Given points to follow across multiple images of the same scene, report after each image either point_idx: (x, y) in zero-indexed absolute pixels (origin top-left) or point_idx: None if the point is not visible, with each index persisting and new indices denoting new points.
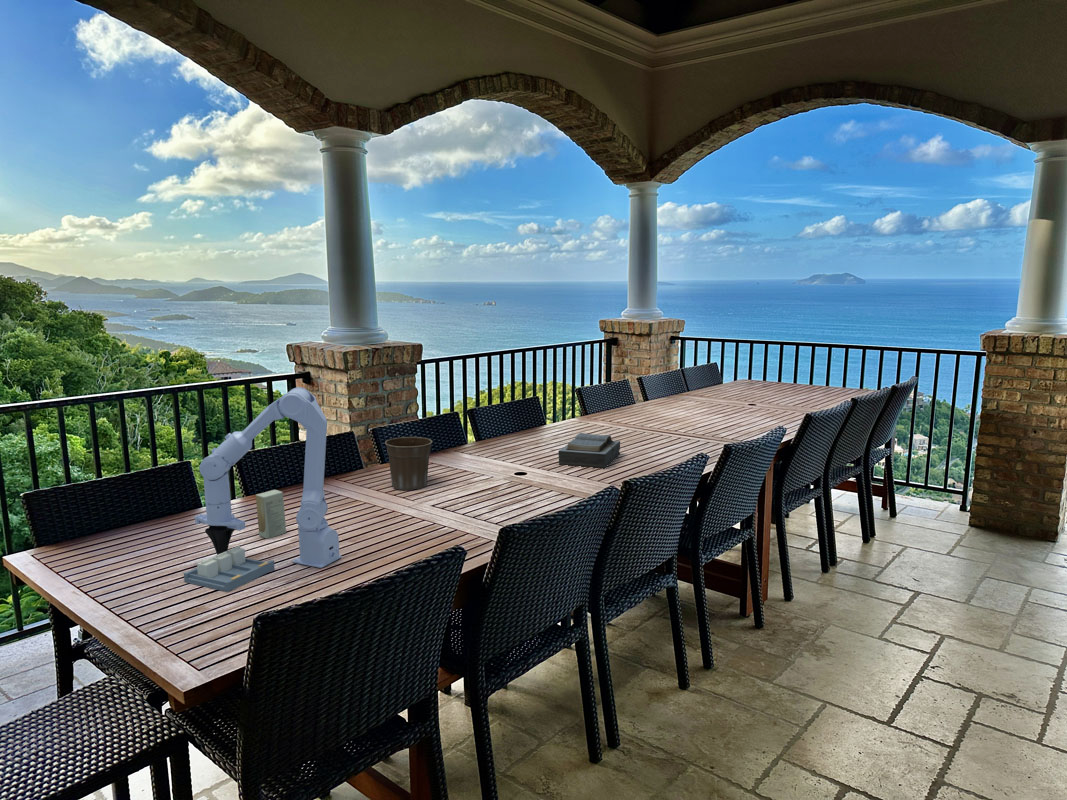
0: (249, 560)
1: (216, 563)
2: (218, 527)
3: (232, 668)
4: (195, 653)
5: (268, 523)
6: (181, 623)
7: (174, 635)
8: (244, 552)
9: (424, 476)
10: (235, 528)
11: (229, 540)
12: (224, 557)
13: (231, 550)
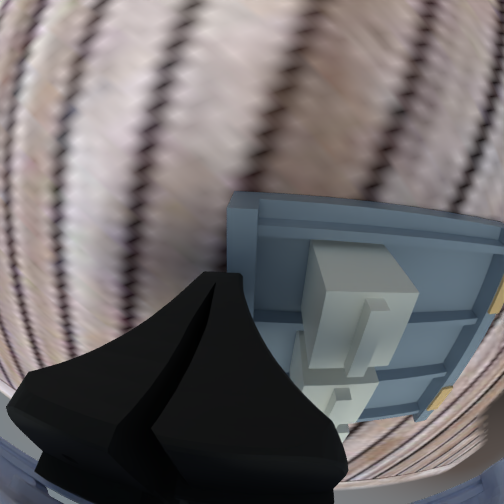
0: (410, 243)
1: (346, 425)
2: (170, 502)
3: (476, 449)
4: (435, 463)
5: None
6: (383, 463)
7: (391, 470)
8: (406, 280)
9: None
10: (437, 502)
11: (256, 331)
12: (361, 409)
13: (362, 372)
